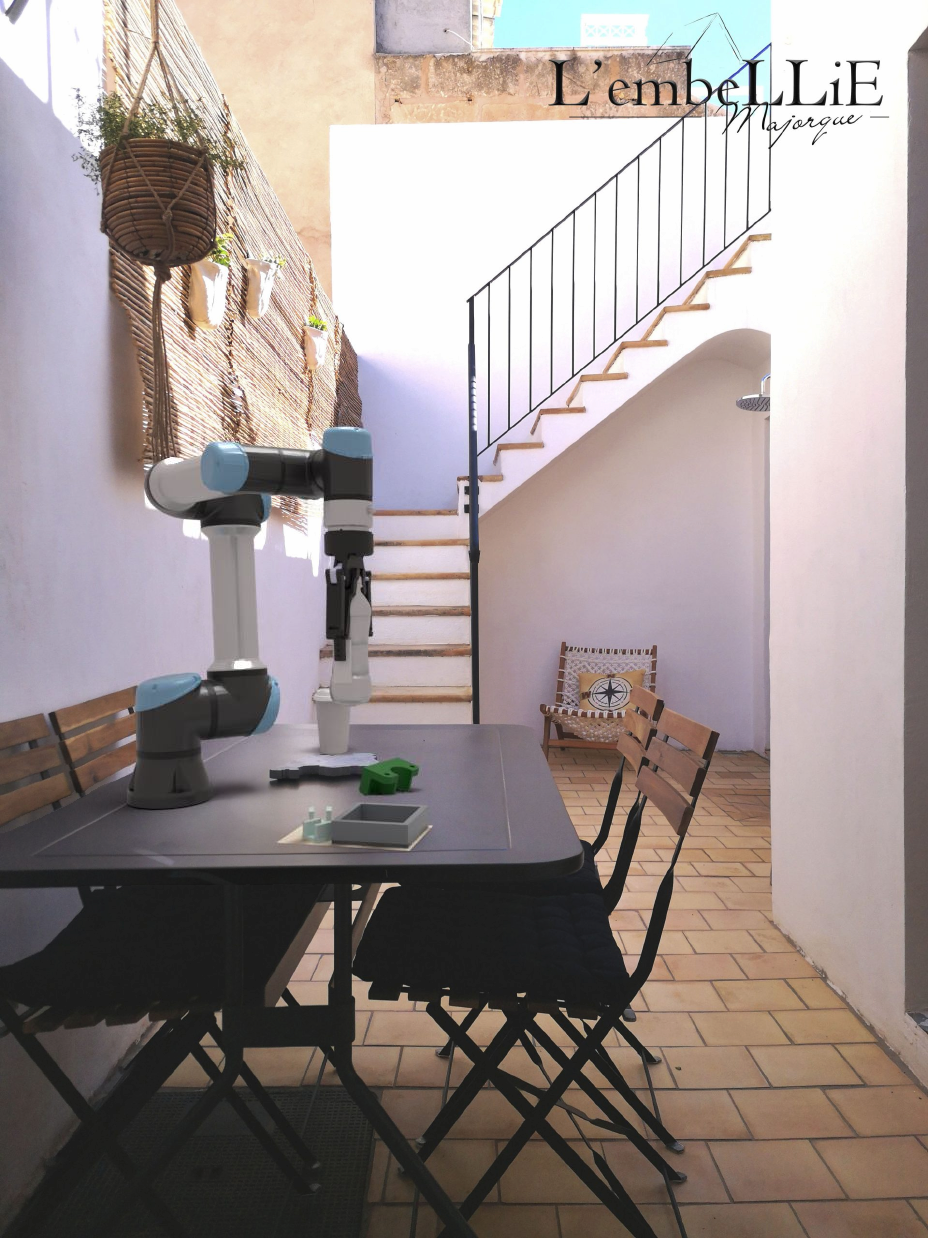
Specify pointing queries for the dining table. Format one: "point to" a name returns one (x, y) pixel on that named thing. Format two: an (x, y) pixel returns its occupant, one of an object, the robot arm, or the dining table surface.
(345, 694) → the plastic bottle
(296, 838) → the board
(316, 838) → the clip
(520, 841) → the dining table surface
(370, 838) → the holder
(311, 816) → the clip
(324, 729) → the coffee cup
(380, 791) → the clamp
